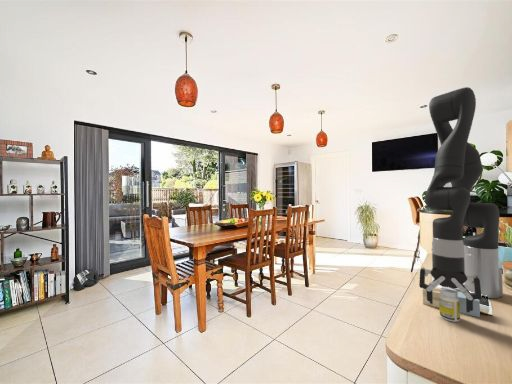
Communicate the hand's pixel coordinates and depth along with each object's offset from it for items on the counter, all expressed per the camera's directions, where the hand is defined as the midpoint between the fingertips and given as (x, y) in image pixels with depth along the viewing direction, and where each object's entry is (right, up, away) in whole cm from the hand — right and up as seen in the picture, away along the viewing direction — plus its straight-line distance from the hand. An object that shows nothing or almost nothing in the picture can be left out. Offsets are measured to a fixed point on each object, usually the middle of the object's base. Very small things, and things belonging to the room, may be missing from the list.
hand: (448, 306), depth 70 cm
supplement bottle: (0, -4, 0) cm, 4 cm away
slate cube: (+9, -3, +3) cm, 10 cm away
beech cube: (+2, -3, +9) cm, 10 cm away
